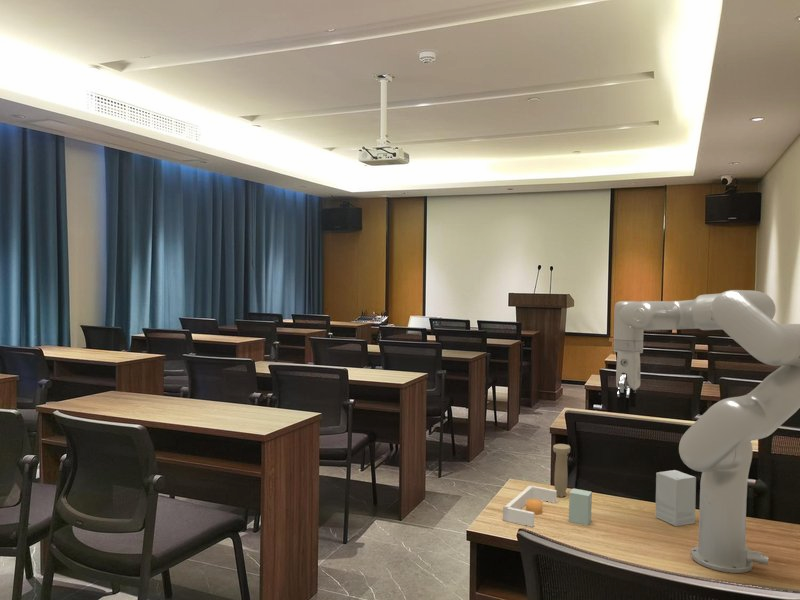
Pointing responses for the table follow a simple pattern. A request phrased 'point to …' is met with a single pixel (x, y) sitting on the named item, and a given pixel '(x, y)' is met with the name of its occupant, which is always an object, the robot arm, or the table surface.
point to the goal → (513, 508)
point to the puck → (534, 506)
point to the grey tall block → (580, 506)
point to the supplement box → (675, 497)
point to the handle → (561, 468)
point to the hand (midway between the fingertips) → (626, 409)
